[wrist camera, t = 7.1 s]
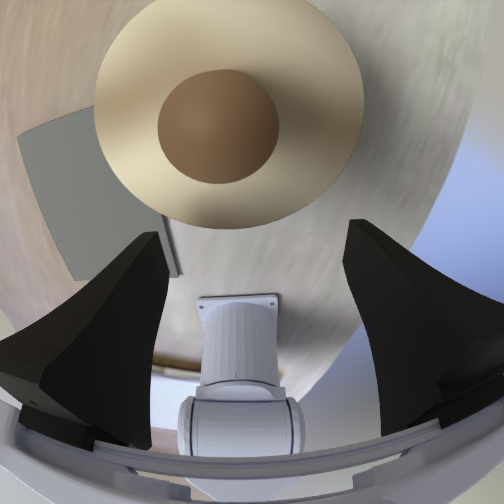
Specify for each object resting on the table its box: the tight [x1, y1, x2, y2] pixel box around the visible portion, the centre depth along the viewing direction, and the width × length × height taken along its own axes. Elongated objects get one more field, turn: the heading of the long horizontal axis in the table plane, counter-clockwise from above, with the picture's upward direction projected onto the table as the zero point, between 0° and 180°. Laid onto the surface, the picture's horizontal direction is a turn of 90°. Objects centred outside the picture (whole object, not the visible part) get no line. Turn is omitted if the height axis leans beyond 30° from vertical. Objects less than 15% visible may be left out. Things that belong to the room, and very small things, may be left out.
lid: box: [94, 0, 364, 229], centre depth 8 cm, size 10×10×4 cm
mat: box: [17, 106, 179, 281], centre depth 20 cm, size 16×12×1 cm
